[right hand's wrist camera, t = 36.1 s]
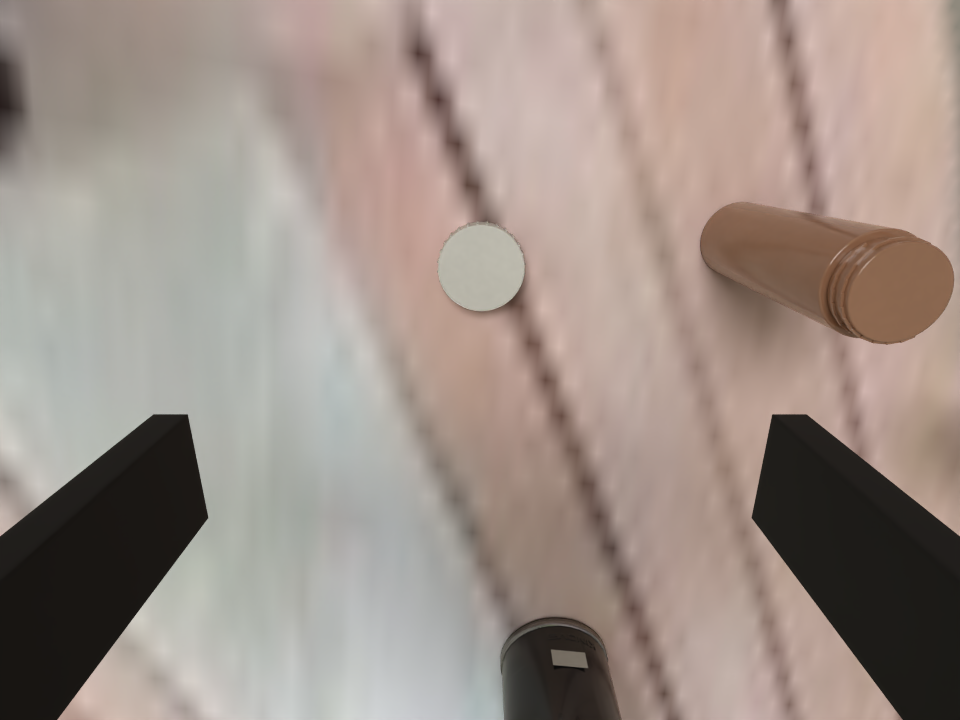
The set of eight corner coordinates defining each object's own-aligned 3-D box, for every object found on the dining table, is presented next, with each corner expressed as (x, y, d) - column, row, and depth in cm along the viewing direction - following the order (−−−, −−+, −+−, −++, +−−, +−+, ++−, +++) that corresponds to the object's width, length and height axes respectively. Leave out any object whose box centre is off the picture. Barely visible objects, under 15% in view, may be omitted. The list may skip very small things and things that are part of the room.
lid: (511, 314, 39) (512, 321, 37) (430, 294, 39) (428, 300, 37) (533, 233, 37) (536, 236, 35) (449, 211, 37) (448, 213, 35)
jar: (691, 220, 37) (828, 264, 22) (763, 189, 36) (954, 212, 22) (711, 286, 38) (853, 367, 24) (781, 257, 38) (970, 322, 23)
